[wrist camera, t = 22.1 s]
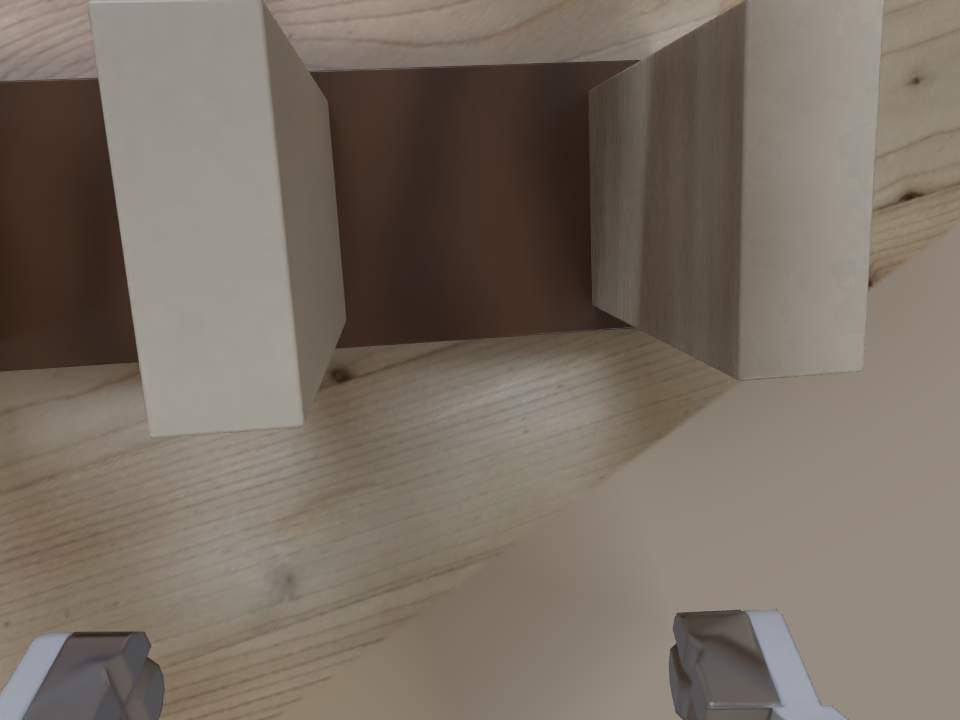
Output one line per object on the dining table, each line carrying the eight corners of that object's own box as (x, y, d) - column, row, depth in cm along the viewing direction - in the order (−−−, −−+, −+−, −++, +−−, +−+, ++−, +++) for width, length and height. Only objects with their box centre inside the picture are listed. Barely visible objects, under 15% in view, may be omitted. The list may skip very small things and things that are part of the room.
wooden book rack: (657, 63, 29) (889, -60, 16) (657, 322, 31) (862, 414, 18) (-129, 90, 26) (-686, -32, 13) (-72, 371, 28) (-498, 526, 15)
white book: (327, 99, 27) (262, -5, 14) (346, 321, 29) (304, 428, 15) (241, 102, 27) (85, -1, 13) (265, 327, 29) (148, 440, 15)
